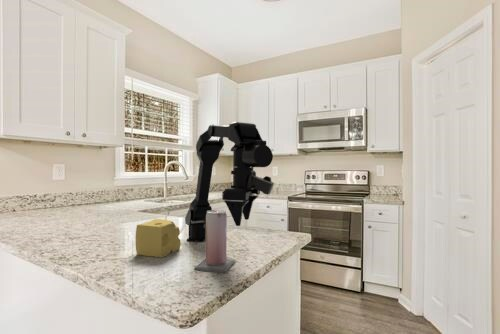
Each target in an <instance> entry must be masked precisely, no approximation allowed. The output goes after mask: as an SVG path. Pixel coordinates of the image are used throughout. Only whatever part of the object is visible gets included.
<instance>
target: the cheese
mask: <svg viewBox="0 0 500 334" xmlns="http://www.w3.org/2000/svg"><path fill="white" fill-rule="evenodd" d="M180 231H181V230H180V227H179V226H177V225H176V224H175V223H174V221H173V220H167V219H161V218H154V219H152V220H150V221H146V222H141V223H138V224H137V225H136V229H135V252H136V255H137V256H145V257H146V256H147V257H153V256H154V258H165V257H167V255H168V256H169V254H170V253H175V252H176V251H179V250H180V249H181V239H180V238H179V236H180Z"/></svg>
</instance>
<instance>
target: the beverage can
mask: <svg viewBox="0 0 500 334" xmlns="http://www.w3.org/2000/svg"><path fill="white" fill-rule="evenodd" d="M227 218H228V215H227V211H226V210H224V209H212V210H209V211H207V214H206V239H205V259H206V263H207V264H208V265H210V266H220V265H223V264H225V262H226V259H227V231H228V228H227V222H228V221H227V220H228V219H227Z"/></svg>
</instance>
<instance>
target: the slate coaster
mask: <svg viewBox="0 0 500 334" xmlns="http://www.w3.org/2000/svg"><path fill="white" fill-rule="evenodd" d="M235 263H236V260H235V259H227V258H226V262H225V264H223V265H220V266H210V265H208V264H207V263H206V258H205V259H203V260H202V261H200V263H198V264H197V265H196V266H195V267H194V270H195V271H200V270H203V271H202V272H210V273H211V272H212V273H221V274H226V273H227V272H228V271H229V270H230V268H231V267H232V266H233V265H234V264H235Z"/></svg>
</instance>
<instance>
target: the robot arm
mask: <svg viewBox="0 0 500 334" xmlns="http://www.w3.org/2000/svg"><path fill="white" fill-rule="evenodd" d="M212 137H213V138H214V137H215V138H218V139H219V140H218V139H212ZM224 138H227V139H228V140H229V141H230V142H232V143H234V145H233V146H232V147H231V148H230V152H232V154H233V155H232V156H233V157H232V159H233V160H232V162H233V164H232V165H233V167H232V170H231V171H230V174H231V175H232V185H230V187H228V188H225V189H224V190H222V194H221V196H222V201H224V203H225V205H226V207H227V208H228V210H229V212H230V213H229V214H230V215H231V217H232V220H233V222H234V224H235V226H236V227H241V224H242V218H243V217H244V220H249V219H250V215H251V212H252V207H253V203H254V201H255V200H256V199H258V198H259V196H260V194H261V192H262V193H263V195H264V194H265V195H267V196H268V195H270V194H271V192H272V190H273V188H274V185H275V183H274V181H272V177H271V176H268V175H265V176H264V177H263V178H262V177H259V176H257V172H256V170H254V168H267V167H269V166H270V165H271V163H272V161H273V157H274V156H273V155H274V154H273V152H272V150H271V148H270V147H269V146H268V145H267V140H263V138H262V137H261V134H260V132H259V130H258V128H257V125H256V124H255V123H252V122H250V123H249V122H241V121H233V122H231V123H229V125H221V124H210V125H209V126H208V128H207V129H206V130H205V131H204V132H202V133H201V134H200V135H199V136H198V139H197V142H196V144H195V149H196V150H195V151H196V155H197V158H198V161H199V168H198V176H197V183H196V191H195V196H194V199H193V200H192V201H191V202H190V204H189V209H188V210H187V212H186V215H185V218H184V221H185V224H186V225H187V226H188V238H186V241H188V242H199V243H201V242H202V243H203V241H206V214H207V211H209V210H213V209H212V206H211V205H210V203H209V196H210V195H209V194H210V189H211V181H212V175H213V168H214V164H215V163H216V162H217V160H218V159H219V157H220V154H221V151H222V149H223V147H224V145H225V143H224Z"/></svg>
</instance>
